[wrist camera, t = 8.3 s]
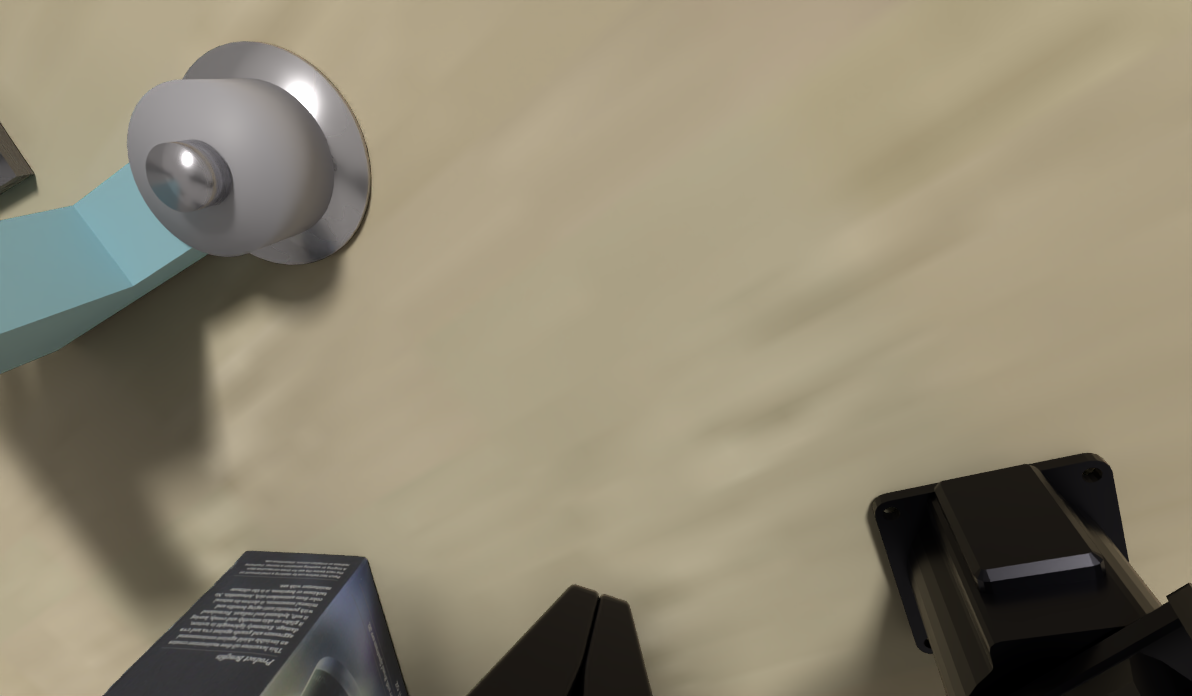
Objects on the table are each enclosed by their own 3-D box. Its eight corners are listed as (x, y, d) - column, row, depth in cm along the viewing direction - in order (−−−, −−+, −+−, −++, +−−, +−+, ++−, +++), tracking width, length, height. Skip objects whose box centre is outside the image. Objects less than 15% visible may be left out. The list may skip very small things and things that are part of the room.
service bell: (408, 221, 20) (339, 253, 17) (252, 289, 23) (163, 330, 19) (296, 0, 18) (192, -17, 15) (137, 98, 21) (14, 104, 17)
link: (270, 46, 19) (-41, 32, 11) (363, 196, 20) (138, 272, 13) (-12, 264, 24) (-348, 351, 17) (75, 371, 25) (-202, 497, 18)
